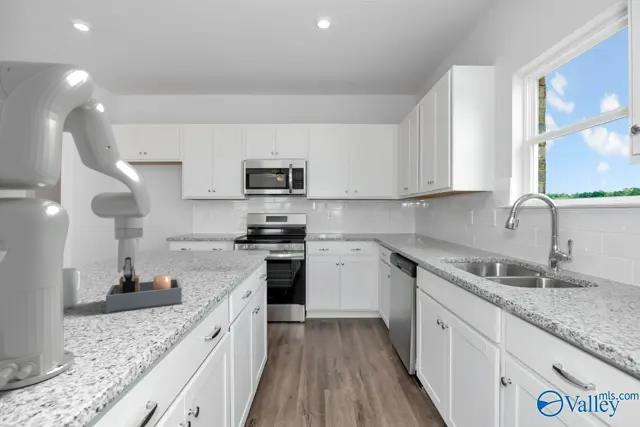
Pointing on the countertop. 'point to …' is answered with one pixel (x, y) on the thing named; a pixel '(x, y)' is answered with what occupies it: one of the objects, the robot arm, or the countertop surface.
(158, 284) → the terracotta cylinder
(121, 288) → the walnut cube
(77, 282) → the mug
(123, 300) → the tote
